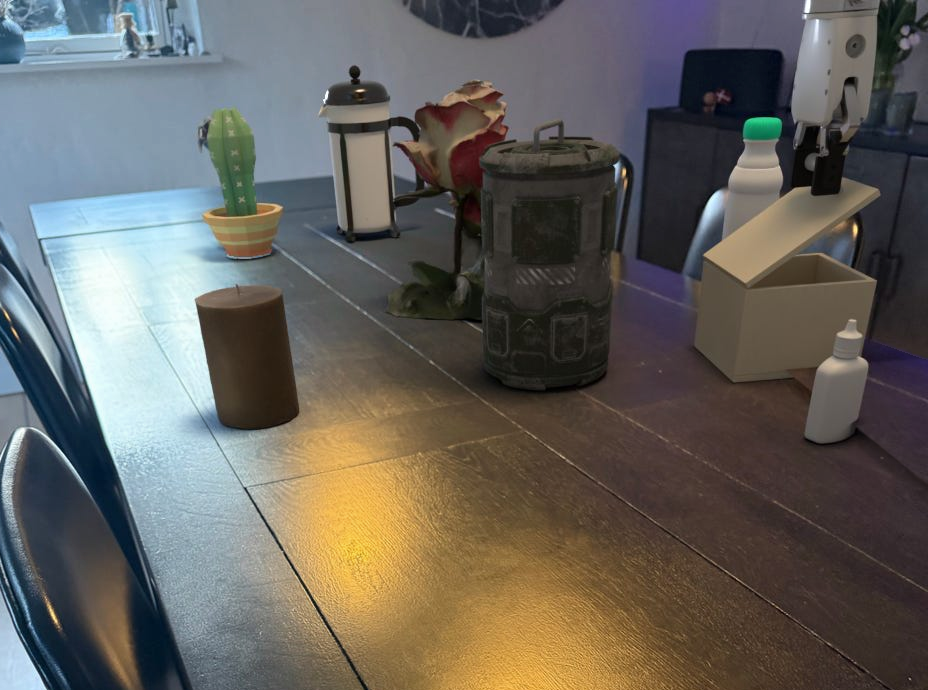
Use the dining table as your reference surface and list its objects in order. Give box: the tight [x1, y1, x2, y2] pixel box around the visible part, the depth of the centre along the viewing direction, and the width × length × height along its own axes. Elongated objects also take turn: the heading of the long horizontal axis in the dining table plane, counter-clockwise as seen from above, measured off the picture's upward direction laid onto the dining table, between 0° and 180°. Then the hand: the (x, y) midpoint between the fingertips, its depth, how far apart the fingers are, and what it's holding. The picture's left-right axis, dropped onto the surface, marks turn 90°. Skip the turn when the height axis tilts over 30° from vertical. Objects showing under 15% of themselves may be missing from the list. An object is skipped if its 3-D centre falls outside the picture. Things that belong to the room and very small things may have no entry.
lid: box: [702, 153, 882, 288], centre depth 108 cm, size 16×15×5 cm
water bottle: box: [721, 116, 784, 241], centre depth 128 cm, size 7×7×25 cm
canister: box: [479, 118, 621, 392], centre depth 110 cm, size 16×16×28 cm
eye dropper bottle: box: [803, 319, 869, 445], centre depth 94 cm, size 4×6×12 cm
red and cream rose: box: [367, 79, 510, 321], centre depth 139 cm, size 26×29×30 cm
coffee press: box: [317, 64, 426, 243], centre depth 184 cm, size 17×16×30 cm
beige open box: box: [693, 252, 878, 383], centre depth 115 cm, size 16×15×11 cm
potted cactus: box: [195, 107, 284, 257], centre depth 175 cm, size 15×15×25 cm
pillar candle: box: [194, 283, 300, 430], centre depth 106 cm, size 10×10×15 cm
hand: (813, 188), depth 107 cm, fingers closed on lid, 5 cm apart
